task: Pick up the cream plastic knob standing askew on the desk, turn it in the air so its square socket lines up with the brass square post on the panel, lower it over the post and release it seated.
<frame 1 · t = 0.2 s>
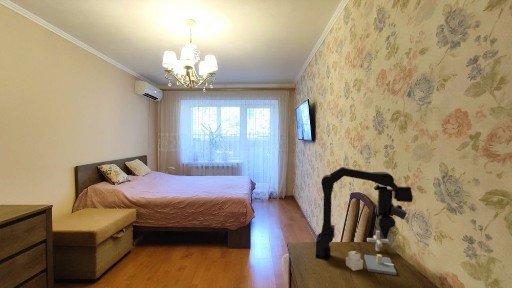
hand: (383, 234, 112), 14 cm above the table, fingers open, 9 cm apart
knob: (354, 266, 111), on the table
pipe connector: (377, 250, 127), on the table
panel: (379, 265, 112), on the table
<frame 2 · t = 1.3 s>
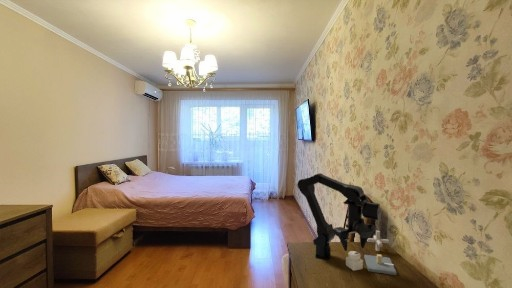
hand: (354, 249, 111), 8 cm above the table, fingers open, 9 cm apart
nothing on the table moved.
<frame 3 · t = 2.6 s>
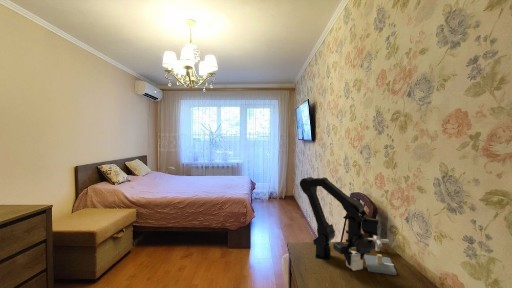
hand: (354, 264, 111), 1 cm above the table, fingers closed on knob, 5 cm apart
knob: (354, 266, 111), on the table, touching gripper
everything else where it was.
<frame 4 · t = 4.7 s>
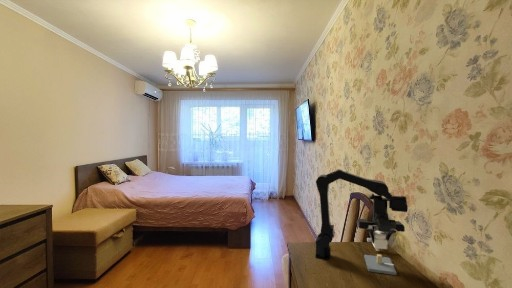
hand: (379, 243, 112), 10 cm above the table, fingers closed on knob, 5 cm apart
knob: (379, 246, 112), point 9 cm above the table, touching gripper
everything else where it was.
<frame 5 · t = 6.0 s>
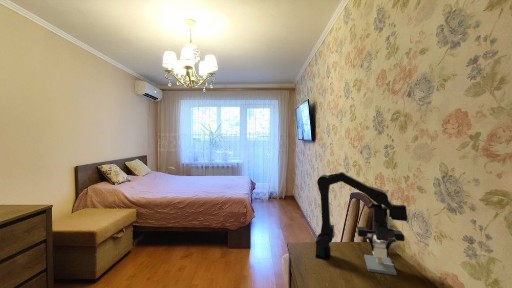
hand: (379, 252, 112), 6 cm above the table, fingers closed on knob, 5 cm apart
knob: (379, 254, 112), point 5 cm above the table, touching gripper
everything else where it was.
when the fingers open (4 cm above the table, at t = 7.0 s): knob drops 1 cm, resting on panel.
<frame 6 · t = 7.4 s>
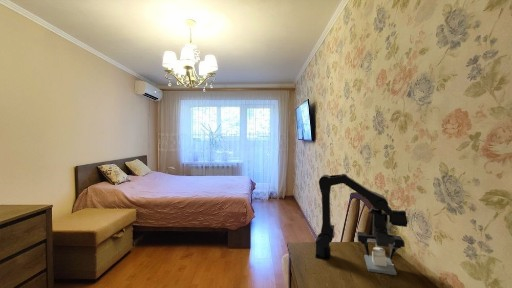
hand: (379, 257, 112), 4 cm above the table, fingers open, 9 cm apart
knob: (379, 262, 112), point 1 cm above the table, touching panel
everything else where it was.
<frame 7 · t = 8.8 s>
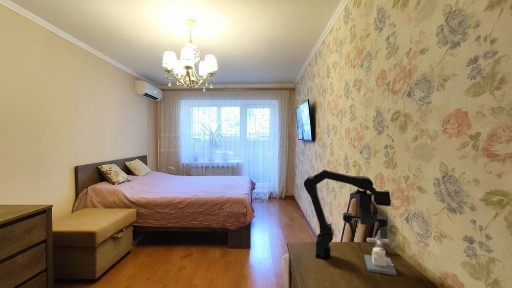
hand: (363, 237, 115), 12 cm above the table, fingers open, 9 cm apart
nothing on the table moved.
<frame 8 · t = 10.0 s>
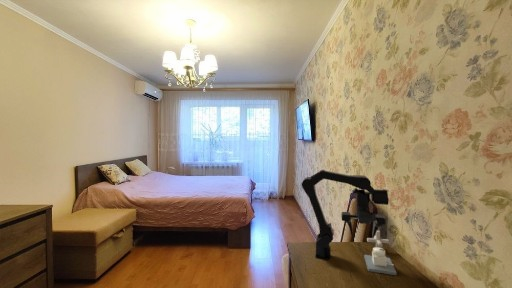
hand: (362, 235, 116), 12 cm above the table, fingers open, 9 cm apart
nothing on the table moved.
at the end: knob 0.1 cm off-centre on the panel, point 1.3 cm above the panel's base; knob tilted 1°; the gripper is holding nothing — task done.
